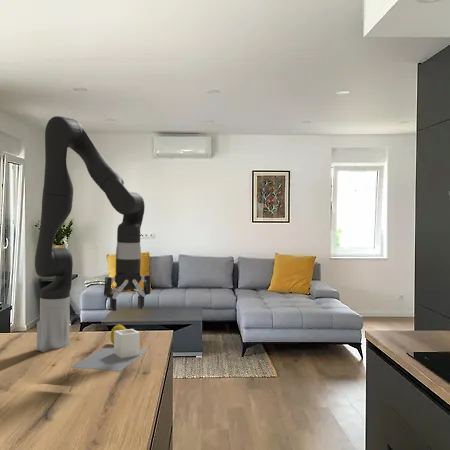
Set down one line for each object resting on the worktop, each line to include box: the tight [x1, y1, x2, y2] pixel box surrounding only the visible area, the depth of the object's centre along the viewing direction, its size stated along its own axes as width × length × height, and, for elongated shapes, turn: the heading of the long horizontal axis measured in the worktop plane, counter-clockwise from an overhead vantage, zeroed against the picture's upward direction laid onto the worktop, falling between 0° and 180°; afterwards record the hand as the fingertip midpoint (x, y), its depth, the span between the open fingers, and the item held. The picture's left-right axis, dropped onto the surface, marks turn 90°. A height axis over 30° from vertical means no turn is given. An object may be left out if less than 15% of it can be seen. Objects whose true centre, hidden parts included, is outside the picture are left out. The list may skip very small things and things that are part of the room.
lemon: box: [110, 323, 127, 345], centre depth 167 cm, size 6×6×8 cm
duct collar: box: [113, 328, 141, 358], centre depth 154 cm, size 6×6×7 cm
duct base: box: [70, 346, 149, 372], centre depth 150 cm, size 15×22×2 cm
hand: (127, 309), depth 154 cm, fingers open, 8 cm apart
